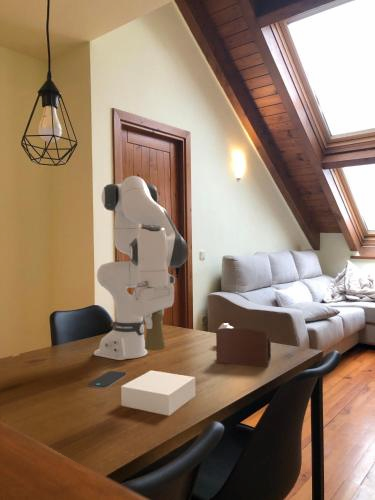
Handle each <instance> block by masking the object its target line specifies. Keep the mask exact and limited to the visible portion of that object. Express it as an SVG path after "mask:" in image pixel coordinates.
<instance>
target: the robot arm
mask: <svg viewBox="0 0 375 500" xmlns="http://www.w3.org/2000/svg"><path fill="white" fill-rule="evenodd" d="M158 202H159V193H158V189H157V187H156V186H155V185H154V184H150V183H146V182H145V180H144V179H143V178H141V177H140V176H137V175H130V176H128V177H125V179H124V180H122V182H121V183H109V184H107V185H105V186H104V187H103V189H102V192H101V203H102V204H103V207H104V209H106V210H107V211H110V212H115V214H114V227H113V228H114V246H115V248H116V250H118V251H119V252H121V253H123V254H125V255H128V257H129V261H111V262H107V263H103V264H101V265H100V266H99V268H98V270H97V272H96V279H97V282H98V283H99V285H100V286H101V287H102V288H103V289H105V290H106V291H107V292H108V293H109V294H110V296H111V297H112V299H113V301H114V304H115V316H116V319H115V321H113V322H112V323H111V324H110V326H111V327H113V328H112V330H111V331H109V332H108V333H107V334H106V335H105V336H104V337H102V338H101V340H100V343H99V348H98V349H97V350H95V351H94V353H93V355H94V356H96V357H102V358H106V359H112V360H116V361H117V360H118V361H123V360H127V359H128V360H129V359H131V360H132V359H137V358H142V357H144V356H147V355H148V350H146V349H145V340H146V339H145V328H146V330H147V329H151V328H153V327H154V322H152V319H151V317H152V313H154V312H157V311H160V312H162V314H163V316H164V315H165V309H168V308H170V307H173V305H174V303H175V285H174V284H175V283H176V278H175V276H174V275H173V274H170V273H169V268H180V267H181V266H182V265H183V264H184V263H186V261H187V260H188V257H189V248H188V245H187V242H186V240H185V239H184V238H183V237H182V235H181V234H180V233H179V231H178V230H177V227H176V225H175V223H174V222H173V220H172V218H171V216H170V215H169V213H168V211H167V209H165V208H164V207H163V206H161V205H160V204H158ZM142 225H143V226H142ZM129 288H134V290H133V292H132V294H131V293H129V291H128V289H129ZM161 324H163V320H162V321H161Z"/></svg>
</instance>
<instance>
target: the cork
mask: <svg viewBox="0 0 375 500" xmlns="http://www.w3.org/2000/svg"><path fill="white" fill-rule="evenodd" d="M151 319H152V322H154V327H153V328H151V329H147V328H146V331H145V339H144V340H145V349H146V350H147V351H153V352H154V351H161V350H164V349H165V348H166V345H165V339H164V333H163V332H164V331H163V325H162V324H163V323H162V324H161V321H162V322H163V319H164V315H163V314H162V312H160V311H157V312H154V313H152V317H151Z"/></svg>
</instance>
